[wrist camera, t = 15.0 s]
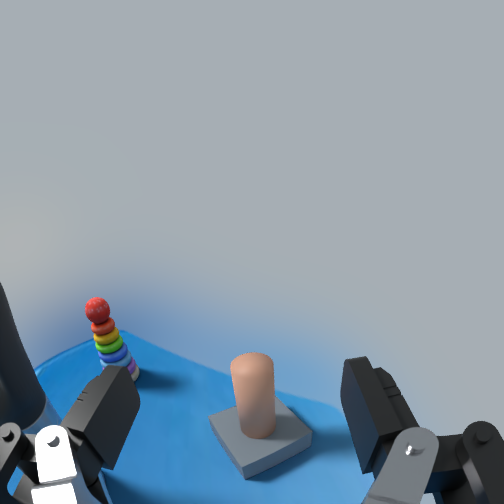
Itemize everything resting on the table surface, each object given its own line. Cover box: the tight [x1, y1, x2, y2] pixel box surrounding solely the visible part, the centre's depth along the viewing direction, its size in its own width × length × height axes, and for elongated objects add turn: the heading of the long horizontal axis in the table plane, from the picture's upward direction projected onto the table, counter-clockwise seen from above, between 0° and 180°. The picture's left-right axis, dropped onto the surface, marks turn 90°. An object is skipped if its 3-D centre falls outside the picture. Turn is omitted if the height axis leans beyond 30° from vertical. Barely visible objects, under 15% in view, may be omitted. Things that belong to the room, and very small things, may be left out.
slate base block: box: [208, 396, 313, 479], centre depth 35 cm, size 11×11×4 cm
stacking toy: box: [85, 297, 139, 382], centre depth 49 cm, size 8×8×19 cm
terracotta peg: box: [230, 353, 276, 439], centre depth 33 cm, size 5×5×12 cm
